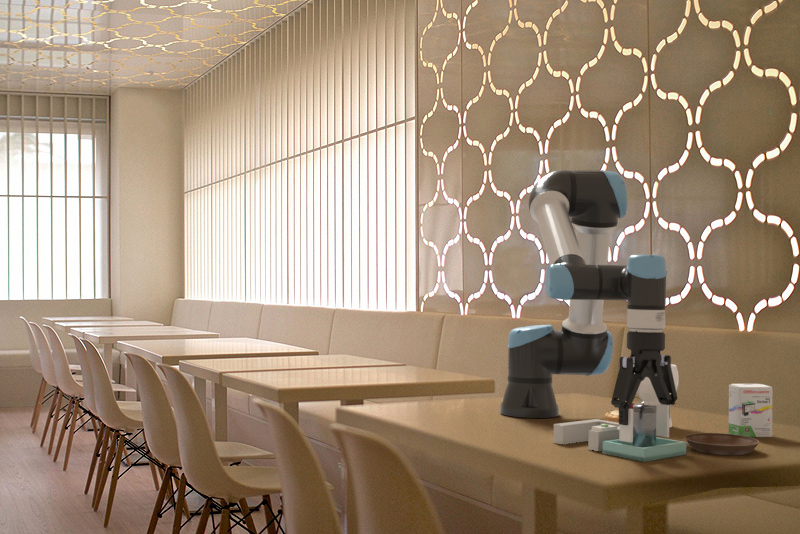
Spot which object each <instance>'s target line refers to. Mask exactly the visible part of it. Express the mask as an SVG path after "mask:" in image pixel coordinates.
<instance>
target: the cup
mask: <svg viewBox="0 0 800 534" xmlns="http://www.w3.org/2000/svg"><path fill="white" fill-rule="evenodd" d="M671 370H672V374H673V379H674V384H675V388H676V392H677V391H678V387H679V381H680V379H679V377H680V375H679V371H678V367H677V365H676V364H672V363H671ZM634 374H635V373H634ZM636 394H637V395H638V396H637V397H639V398H640V399H642V400H643V402H648V403H649V405H655V406H656V404H661V403H659V400H658V398H657V396H656V393H655V391H654V388H653V386H652V384H651V381H650V379H649V378H648V377H645V379H644V380H642V381H641V383H640V385H639V388H638V390H637V393H636ZM669 394H671V393H669ZM639 398H638V399H639ZM640 399H639V400H640ZM641 402H642V401H641V400H640V403H641ZM671 406H672V405H670V409H671ZM672 427H673V423H672V415H671V414H670V419H669V428H672Z"/></svg>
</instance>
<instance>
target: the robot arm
mask: <svg viewBox="0 0 800 534" xmlns="http://www.w3.org/2000/svg"><path fill="white" fill-rule="evenodd" d="M626 187H627V186H626V183H625V180H624V178H623V176H622V175H621V174H620V173H618V172H617V171H610V170H609V171H608V170H593V169H592V170H588V169H587V170H584V169H581V170H580V169H579V170H575V169H574V170H573V169H572V170H569V169H561V170H560V169H558V170H554V171H552V172H549V173H547V174H545V175H544V176H542V177H541V178H540V179H538V181H537V182H536V183H535V184H534V186H533V188H532V190H531V191H530V192H529V193H530V194H529V198H528V210H529V214H530V215H531V216H530V217H531V218H532V219H533V221H534V222H535V223H537V225H538V228H539V232H540V235H541V238H542V242H543V246H544V249H545V252H546V256H547V258H548V259H547V260H548V263H549V264H548V265H547V267H546V269H545V273H544V286H545V288H544V290H545V294H546V296H547V297H548V298H550V299H556V300H563V301H569V309H568V310H569V311H568V317H567V318H565V319H564V320H563V321H562V323H561V330H560V329H554V326H553V325H552V324H538V325H537V324H536V325H527V326H520V327H516V328H512V329H511V330H510V331H509V333H508V342H507V346H506V348H507V384H506V387H505V391H504V395H503V399H502V402H501V403H500V407H499V408H500V414H501V415H505V416H509V417H515V418H523V419H524V418H527V419H528V418H529V419H538V418H539V419H545V418H556V417H558V416H559V410H560V409H559V404H557V399H556V395H555V392H554V388H553V387H554V386H553V375H558V376H559V375H561V376H562V375H563V376H565V375H568V376H569V375H571V376H572V375H573V376H587V377H588V376H594V375H595V376H596V375H597V376H598V375H602V374H604V373H605V372H606V371H607V370H608V369H609V367H610V364H611V361H612V358H613V352H614V346H613V344H614V339H613V334H612V333H611V332H610V331H608V326H607V324H606V323H605V322H604V321H603V313H604V303H605V301H623V302H627V309H626V328H627V329H629V330H628V331H627V333H626V348H627V349H628V350H630V356H620V357H619V364H618V365H619V366H618V367H619V368H618V373H617V376H616V380H615V385H614V387H613V388H614V389H613V392H612V396H611V401H610V404H611V405H612V406H613V408H616V409H617V408H618V410H619V424H620V433H619V441H625V442H630V443H631V442H633V409H630V407H631V405H632V403H634V400H635V398H634V397H636V394H637V390H638V388H639V385H640V383H641V381H642V380H644V379H645V377H648V378H649V379H650V381H651V384H652V386H653V388H654V391H655V393H656V396H657V398H658V400H659V403H661V404H656V406H657V408H656V437H662V438H663V437H664V438H669V437H670V427H669V419H670V415H671V408H670V405H671V406H675V405H676V401H677V400H678V394H677V391H676V388H675V384H674V379H673V374H672V370H671V364H672V357H671V355H667V354H661V352H662V351H664V350H665V349H666V334H665V332H664V329H666V296H667V295H666V294H667V275H668V271H667V265H666V264H667V263H666V262H667V261H666V258H665V256H663V255H660V254H632V255H630V256H629V257H628V260H627V265H626V264H625V265H624V264H623V265H622V264H621V265H613V264H611V265H610V264H609V265H608V261H609V260H608V259H609V251H610V240H611V233H612V231H613V230H614V229H616V228H617V227H618V220H619V219H620V220H621V219H623V218H625V217H626V214H627V212H628V193H627V188H626ZM574 228H575V229H574ZM634 373H635V374H634ZM669 393H671V394H669Z"/></svg>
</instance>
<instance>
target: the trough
mask: <svg viewBox="0 0 800 534" xmlns="http://www.w3.org/2000/svg"><path fill="white" fill-rule="evenodd" d="M632 445H633V442H631V443H630V442H625V441H619V439H615V440H608V441H603V450H602V451H601V453H603V454H602V455H607V454H608V456H612V455H614V456H613V457H617V456H619V457H618V458H622V457H624V458H623V459H627V458H628V460H632V461H637V460H638V462H642V463H644V462H651V461H657V460H663V459H668V458H674V457H680V456H685V455H687V441H681V440H678V439H670V438H666V437H664V438H663V437H660V436H656V446H650V447H643V448H642V447H637V446H632Z"/></svg>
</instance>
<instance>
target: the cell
mask: <svg viewBox="0 0 800 534" xmlns="http://www.w3.org/2000/svg"><path fill="white" fill-rule="evenodd" d="M656 408H657V406H655V405H649V403H648V402H641V401H640V403H634V405H633V445H632V446H637V447H642V448H643V447H650V446H656V437H657V435H656Z"/></svg>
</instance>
